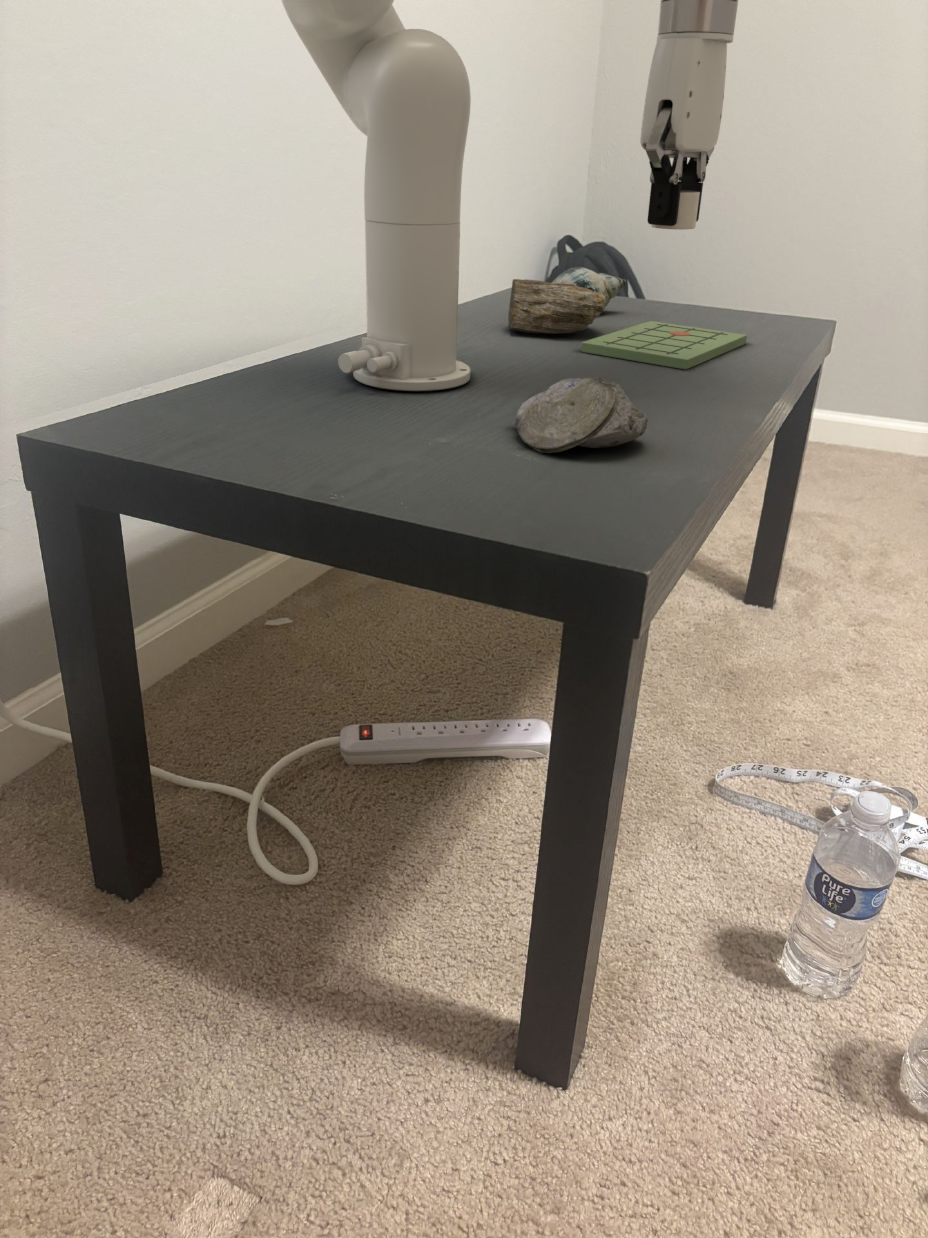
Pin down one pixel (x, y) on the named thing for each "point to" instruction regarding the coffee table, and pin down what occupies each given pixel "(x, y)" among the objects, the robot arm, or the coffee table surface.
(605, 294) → the seashell
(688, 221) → the beige cylinder
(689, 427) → the coffee table surface
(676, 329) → the board
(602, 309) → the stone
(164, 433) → the coffee table surface
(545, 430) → the fossilized seashell
